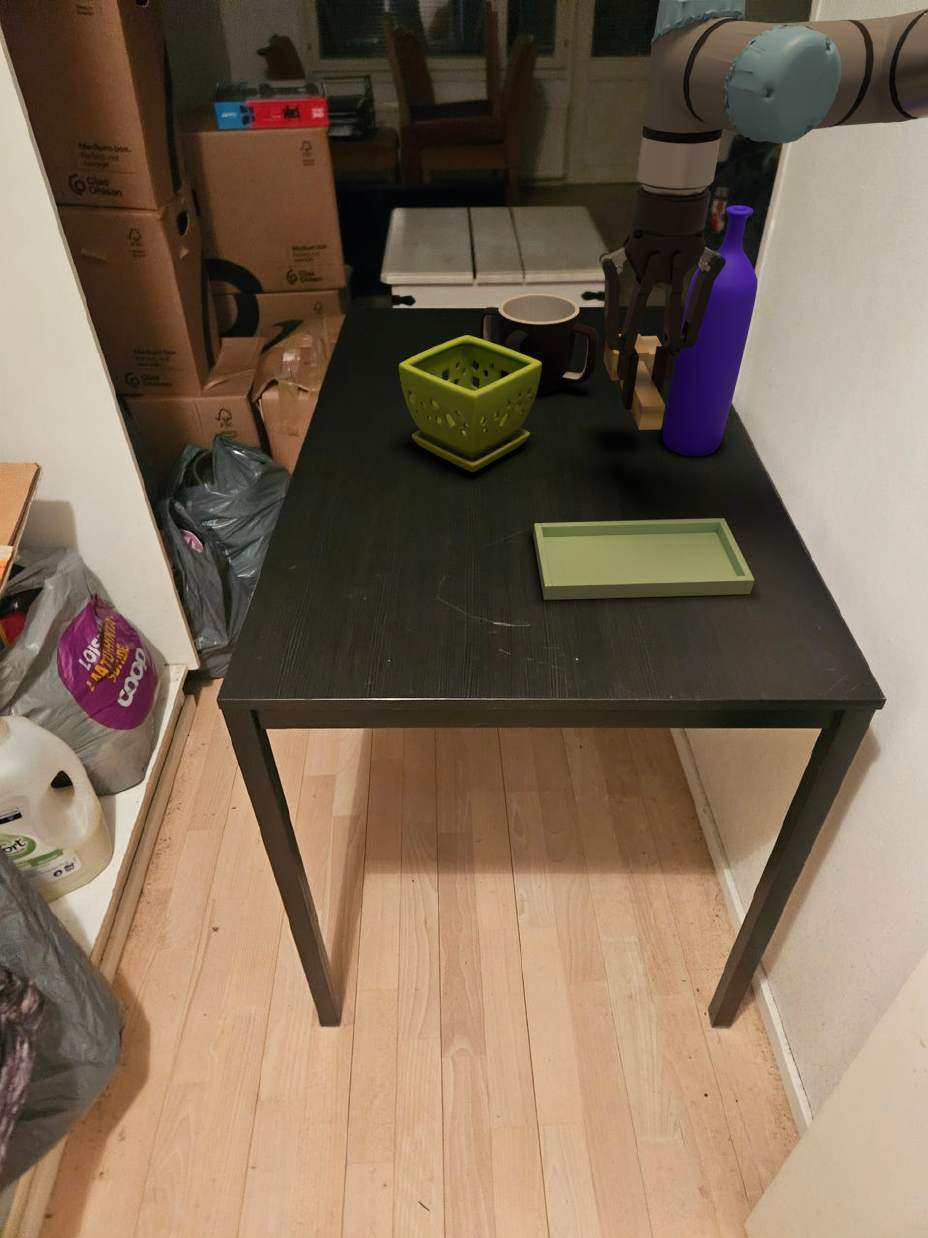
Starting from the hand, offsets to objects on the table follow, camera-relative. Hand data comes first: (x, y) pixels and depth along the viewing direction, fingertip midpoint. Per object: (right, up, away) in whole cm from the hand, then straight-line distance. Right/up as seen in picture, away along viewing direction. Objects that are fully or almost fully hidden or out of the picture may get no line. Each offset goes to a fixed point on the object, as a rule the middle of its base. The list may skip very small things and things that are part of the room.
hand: (639, 403), depth 92 cm
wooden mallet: (+1, +2, +3) cm, 4 cm away
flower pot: (-20, -2, +15) cm, 25 cm away
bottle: (+11, -1, +15) cm, 19 cm away
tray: (-1, -20, -5) cm, 21 cm away
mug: (-10, +11, +30) cm, 34 cm away
